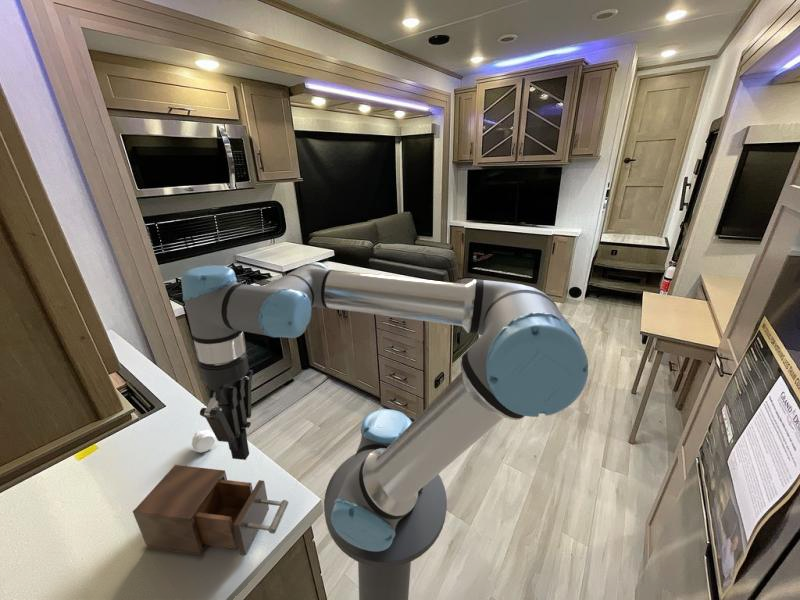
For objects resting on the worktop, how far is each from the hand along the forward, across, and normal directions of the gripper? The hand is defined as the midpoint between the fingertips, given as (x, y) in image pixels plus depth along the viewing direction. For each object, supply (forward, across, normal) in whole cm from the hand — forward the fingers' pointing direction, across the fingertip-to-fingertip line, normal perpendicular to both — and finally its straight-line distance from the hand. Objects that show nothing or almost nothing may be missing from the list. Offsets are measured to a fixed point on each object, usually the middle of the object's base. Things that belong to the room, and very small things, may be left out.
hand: (240, 456), depth 64 cm
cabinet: (+18, +3, -11) cm, 21 cm away
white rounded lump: (+18, -17, -23) cm, 34 cm away
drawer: (+17, +3, +1) cm, 17 cm away
